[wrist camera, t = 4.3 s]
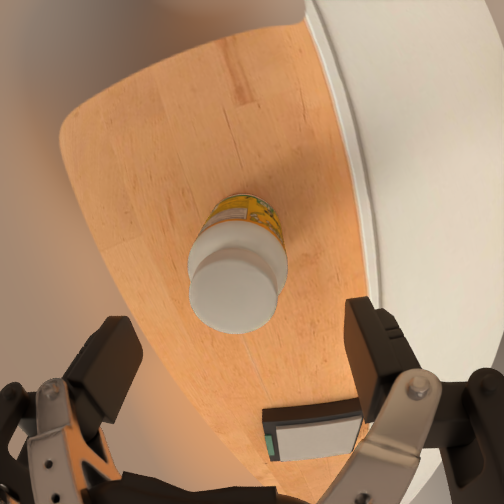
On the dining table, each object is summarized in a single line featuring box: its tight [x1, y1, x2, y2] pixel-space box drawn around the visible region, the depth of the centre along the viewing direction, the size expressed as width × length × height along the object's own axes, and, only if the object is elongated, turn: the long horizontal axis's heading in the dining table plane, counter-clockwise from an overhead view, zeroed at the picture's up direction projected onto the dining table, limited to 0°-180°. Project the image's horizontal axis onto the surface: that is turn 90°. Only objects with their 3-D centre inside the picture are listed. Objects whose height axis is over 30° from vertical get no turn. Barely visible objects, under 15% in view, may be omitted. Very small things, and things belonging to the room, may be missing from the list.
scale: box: [262, 398, 364, 462], centre depth 31 cm, size 12×12×3 cm
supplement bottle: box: [188, 194, 288, 334], centre depth 17 cm, size 5×5×10 cm
